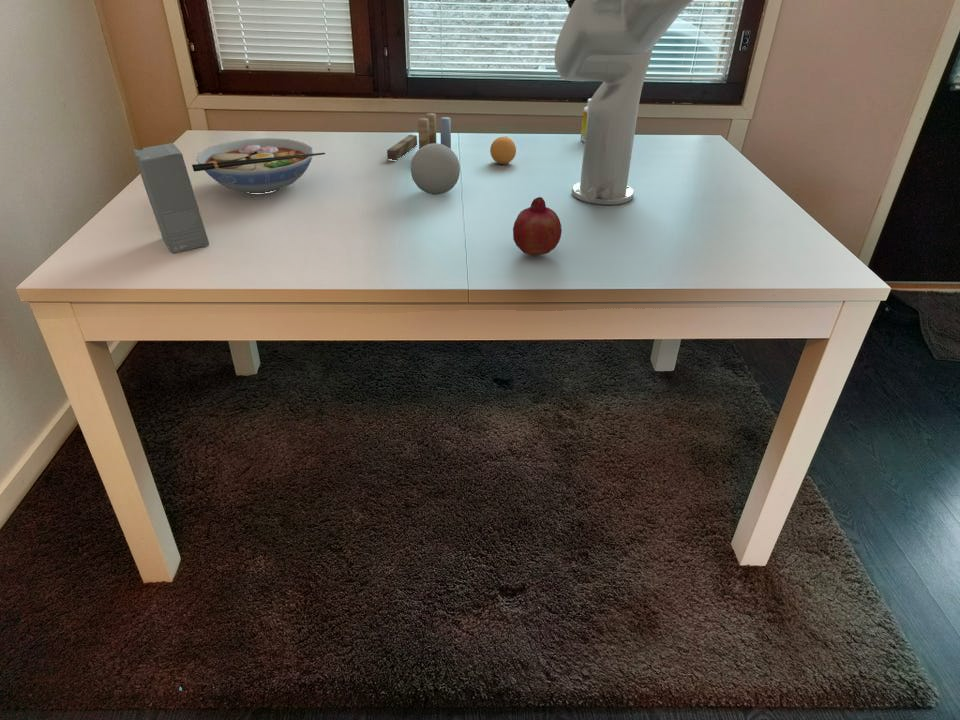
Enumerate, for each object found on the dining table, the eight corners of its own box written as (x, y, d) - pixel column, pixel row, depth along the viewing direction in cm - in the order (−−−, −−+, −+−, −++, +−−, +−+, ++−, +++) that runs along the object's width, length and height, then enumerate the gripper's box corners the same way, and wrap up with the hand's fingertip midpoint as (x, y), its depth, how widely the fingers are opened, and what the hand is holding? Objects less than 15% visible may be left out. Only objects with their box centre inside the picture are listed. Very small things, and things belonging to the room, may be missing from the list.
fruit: (557, 267, 105) (563, 208, 100) (508, 262, 106) (511, 204, 101) (560, 246, 112) (565, 190, 106) (514, 243, 113) (517, 187, 107)
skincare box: (210, 246, 110) (188, 153, 101) (166, 255, 107) (139, 159, 98) (199, 229, 116) (177, 140, 107) (156, 238, 112) (130, 146, 104)
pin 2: (434, 154, 155) (433, 115, 150) (425, 153, 156) (424, 115, 151) (438, 151, 157) (437, 113, 152) (428, 151, 158) (427, 112, 153)
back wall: (395, 161, 150) (395, 151, 149) (387, 160, 151) (387, 150, 149) (417, 145, 161) (416, 135, 160) (409, 144, 162) (409, 134, 161)
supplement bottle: (593, 145, 164) (598, 103, 158) (576, 140, 167) (580, 99, 162) (606, 141, 168) (611, 99, 162) (588, 136, 171) (593, 96, 165)
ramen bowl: (309, 166, 147) (304, 129, 142) (336, 198, 130) (331, 157, 125) (193, 180, 138) (183, 141, 133) (205, 216, 121) (195, 173, 116)
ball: (448, 182, 139) (447, 135, 133) (468, 197, 131) (468, 147, 126) (404, 189, 135) (402, 140, 129) (422, 204, 128) (420, 154, 122)
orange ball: (512, 168, 147) (513, 141, 144) (486, 165, 149) (487, 139, 145) (518, 161, 152) (519, 135, 149) (493, 158, 154) (494, 132, 150)
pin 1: (427, 160, 151) (426, 121, 146) (418, 159, 152) (416, 120, 147) (431, 157, 153) (429, 118, 148) (421, 156, 154) (420, 117, 149)
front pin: (449, 159, 152) (448, 120, 147) (439, 158, 153) (438, 119, 148) (452, 156, 154) (451, 117, 149) (442, 155, 155) (442, 116, 150)
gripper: (581, -69, 119) (572, 34, 129) (649, -68, 127) (635, 29, 136) (555, -70, 124) (549, 29, 134) (622, -69, 132) (611, 24, 142)
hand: (593, 29), depth 135 cm, fingers open, 9 cm apart
